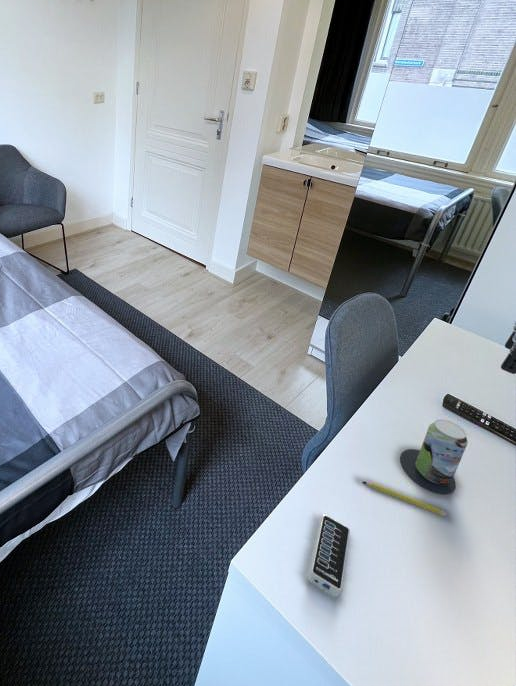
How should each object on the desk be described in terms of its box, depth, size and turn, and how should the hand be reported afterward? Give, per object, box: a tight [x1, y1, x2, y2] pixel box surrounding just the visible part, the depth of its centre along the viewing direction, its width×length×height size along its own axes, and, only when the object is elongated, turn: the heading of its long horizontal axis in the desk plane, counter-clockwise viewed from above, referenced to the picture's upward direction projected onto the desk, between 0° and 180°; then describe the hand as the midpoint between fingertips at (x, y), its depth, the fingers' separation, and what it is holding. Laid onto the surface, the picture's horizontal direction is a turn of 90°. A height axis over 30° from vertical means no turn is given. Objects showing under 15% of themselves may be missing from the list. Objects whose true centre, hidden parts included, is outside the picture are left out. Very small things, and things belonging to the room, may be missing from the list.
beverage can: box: [415, 419, 468, 484], centre depth 82 cm, size 6×7×12 cm
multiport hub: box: [306, 513, 351, 598], centre depth 69 cm, size 4×11×2 cm, turn 148°
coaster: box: [399, 448, 457, 495], centre depth 85 cm, size 10×10×1 cm
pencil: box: [362, 481, 447, 517], centre depth 79 cm, size 1×14×1 cm, turn 66°
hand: (509, 359), depth 79 cm, fingers open, 8 cm apart
